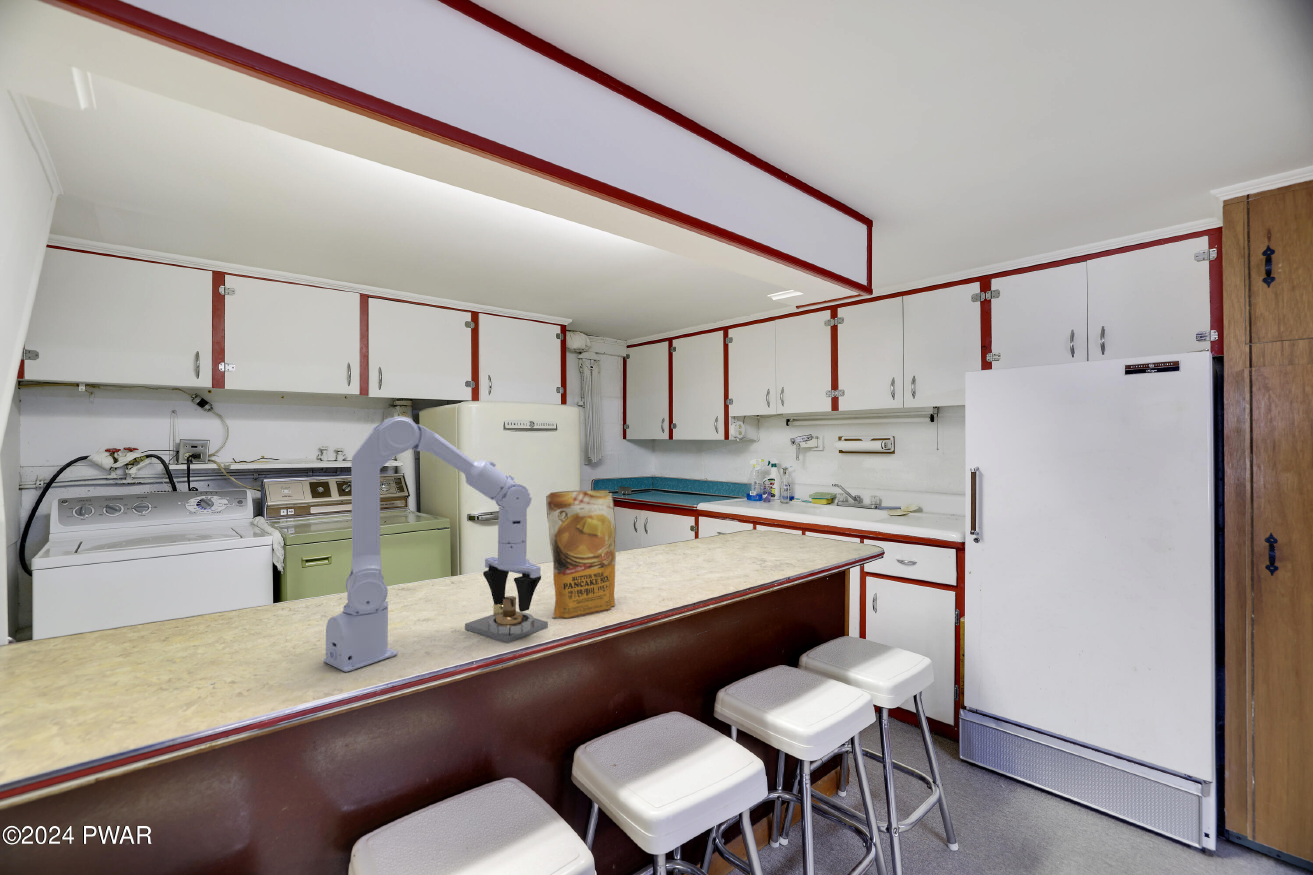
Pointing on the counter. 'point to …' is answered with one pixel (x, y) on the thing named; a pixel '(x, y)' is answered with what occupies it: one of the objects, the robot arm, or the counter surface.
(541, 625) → the carrier
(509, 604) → the gear
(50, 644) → the counter surface
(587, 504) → the pancake mix bag
